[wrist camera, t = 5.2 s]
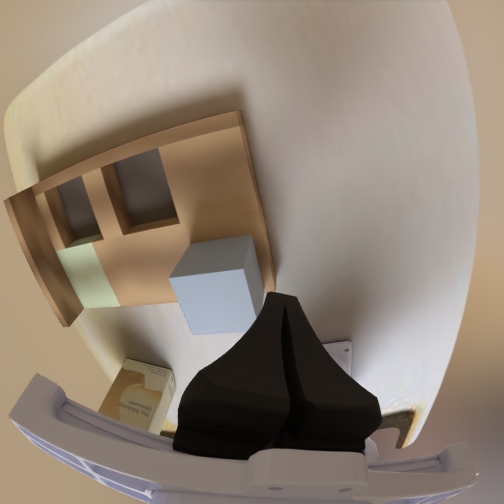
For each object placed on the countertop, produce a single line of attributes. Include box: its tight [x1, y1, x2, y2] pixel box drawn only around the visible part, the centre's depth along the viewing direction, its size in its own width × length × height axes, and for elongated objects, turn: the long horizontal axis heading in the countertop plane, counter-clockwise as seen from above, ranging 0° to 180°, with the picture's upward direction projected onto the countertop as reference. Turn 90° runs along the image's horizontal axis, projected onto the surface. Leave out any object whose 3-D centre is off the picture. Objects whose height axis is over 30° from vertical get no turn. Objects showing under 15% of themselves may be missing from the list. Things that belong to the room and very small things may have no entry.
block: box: [169, 234, 264, 335], centre depth 19 cm, size 4×4×4 cm
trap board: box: [4, 111, 276, 327], centre depth 20 cm, size 13×20×5 cm, turn 102°
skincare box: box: [98, 359, 176, 435], centre depth 26 cm, size 6×4×12 cm
